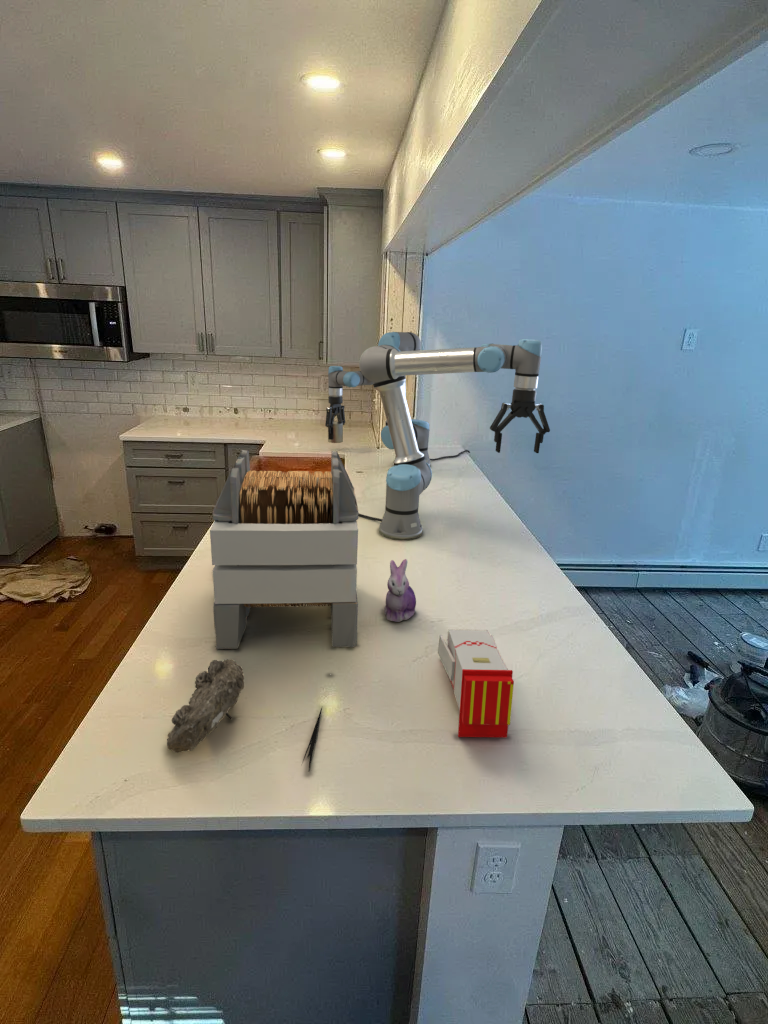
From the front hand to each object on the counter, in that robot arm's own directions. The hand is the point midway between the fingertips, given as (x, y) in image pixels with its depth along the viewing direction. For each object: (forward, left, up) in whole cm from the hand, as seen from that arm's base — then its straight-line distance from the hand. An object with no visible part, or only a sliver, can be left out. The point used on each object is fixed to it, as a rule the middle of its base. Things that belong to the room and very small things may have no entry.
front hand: (517, 452), depth 193 cm
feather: (+39, -108, -30) cm, 119 cm away
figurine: (+19, -69, -30) cm, 77 cm away
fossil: (+26, -124, -30) cm, 130 cm away
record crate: (+1, -91, -30) cm, 96 cm away
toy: (+51, -78, -30) cm, 98 cm away
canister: (-135, +22, -26) cm, 139 cm away
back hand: (-135, +22, -24) cm, 139 cm away
